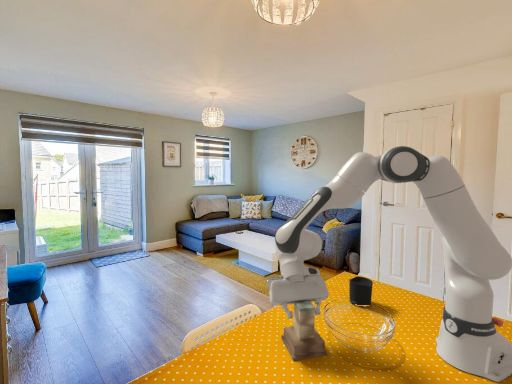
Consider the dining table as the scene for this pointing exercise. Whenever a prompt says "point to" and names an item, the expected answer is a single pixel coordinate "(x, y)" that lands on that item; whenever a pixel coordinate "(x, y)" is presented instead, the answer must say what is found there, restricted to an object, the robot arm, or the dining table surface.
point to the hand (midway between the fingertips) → (304, 316)
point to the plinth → (303, 345)
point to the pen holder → (360, 290)
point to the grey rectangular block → (304, 319)
